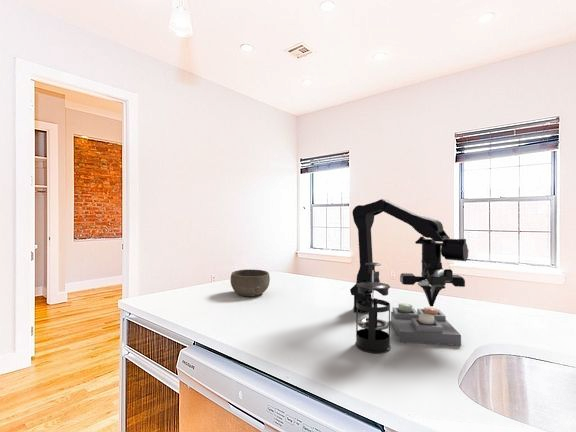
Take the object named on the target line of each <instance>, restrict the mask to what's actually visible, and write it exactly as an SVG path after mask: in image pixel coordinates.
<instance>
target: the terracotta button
mask: <svg viewBox="0 0 576 432" xmlns="http://www.w3.org/2000/svg"><path fill="white" fill-rule="evenodd" d="M423 309H424V314H432V315H438V310H439V309H438V308H435V307H431V306H429V307H424V308H423Z"/></svg>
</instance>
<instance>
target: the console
mask: <svg viewBox="0 0 576 432" xmlns="http://www.w3.org/2000/svg"><path fill="white" fill-rule="evenodd" d="M419 314H424V308H417V309H415V307H412V312H402V311H399V310H398V307H392V311H390V322H391V323H392V325H393V326H392V327H393V328H394V330H395V333H396V335H397V336H398V339H399V342H400V343H411V344H412V343H415V344H426V345H427V344H429V345H441V344H443V345H444V346H456V345H460V347H461V346H462V335H461V333H460V332H459V331H458V330H457V329H456V328H455V327H454V326H453V325H452V324H451V322H449V321H448V320H447V319H446V318H447V317H446V315H445V314H444V313H443V312H442V311H441V310H440V309H438V315H433V316H434V324H423V323H420V322H419ZM430 315H432V314H430ZM443 345H442V346H443Z"/></svg>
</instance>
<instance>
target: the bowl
mask: <svg viewBox="0 0 576 432" xmlns="http://www.w3.org/2000/svg"><path fill="white" fill-rule="evenodd" d="M270 280H271V278H270V272H269V271H266V270H262V269H251V268H250V269H247V268H246V269H239V270H235V271H232V272H231V274H230V285H231V287H232V289H233V291H234V292H235V294H237V295H239V296H242V297H255V296H260V295H263V293H265V292H266V290H267V289H268V288H269V285H270Z"/></svg>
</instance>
